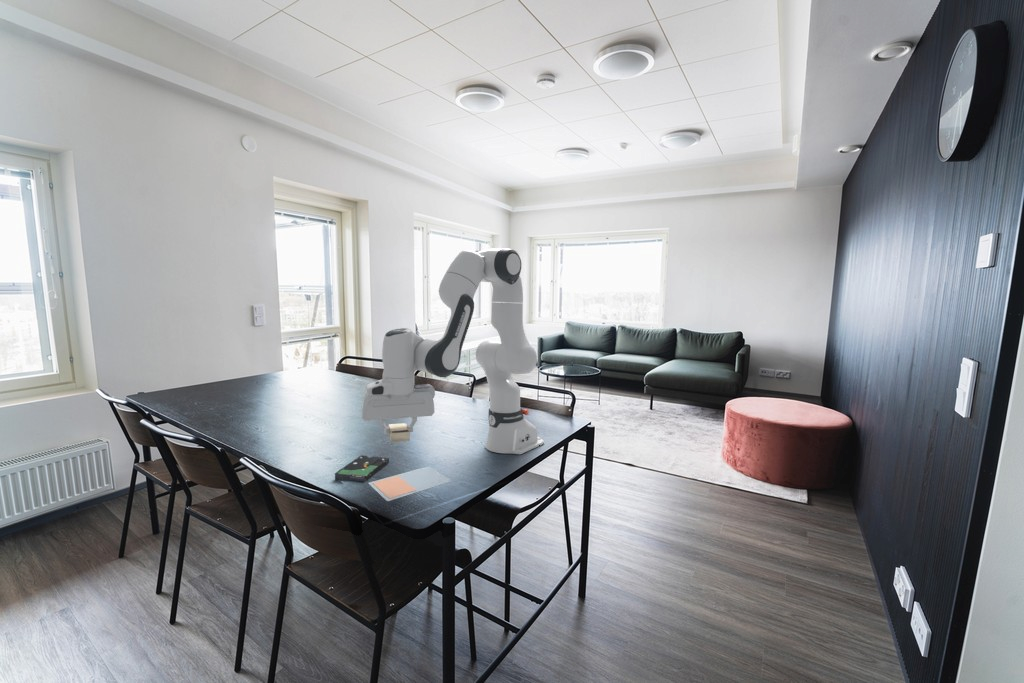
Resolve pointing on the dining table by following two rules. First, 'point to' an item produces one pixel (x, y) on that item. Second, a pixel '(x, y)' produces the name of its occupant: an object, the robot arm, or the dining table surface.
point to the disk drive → (361, 468)
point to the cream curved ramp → (399, 432)
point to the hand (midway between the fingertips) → (398, 432)
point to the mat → (408, 483)
